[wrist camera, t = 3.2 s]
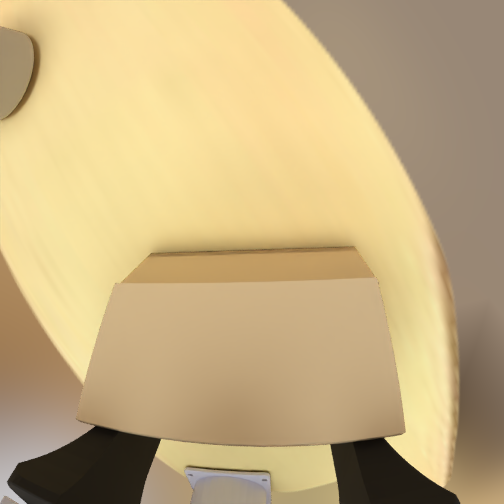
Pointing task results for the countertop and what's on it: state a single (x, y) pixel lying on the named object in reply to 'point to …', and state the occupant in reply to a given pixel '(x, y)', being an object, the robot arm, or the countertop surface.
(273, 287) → the flap
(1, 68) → the beverage can
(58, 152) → the countertop surface
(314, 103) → the countertop surface
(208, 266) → the carton
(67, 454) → the robot arm
